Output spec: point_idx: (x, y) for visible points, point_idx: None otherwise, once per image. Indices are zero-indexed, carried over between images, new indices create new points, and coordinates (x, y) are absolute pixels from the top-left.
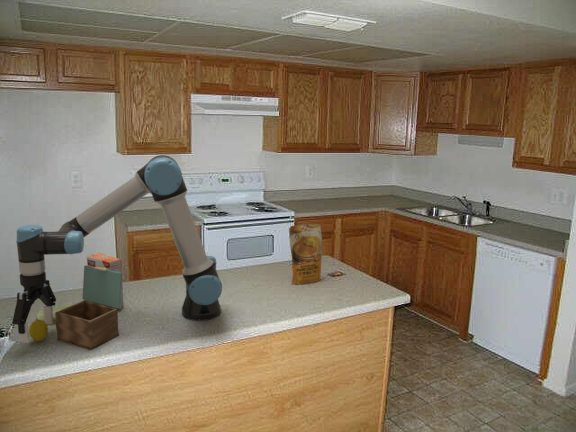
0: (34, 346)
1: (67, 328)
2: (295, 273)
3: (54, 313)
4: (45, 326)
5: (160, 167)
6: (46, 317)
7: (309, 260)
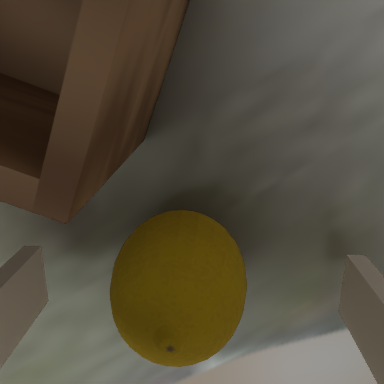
0: (252, 231)
1: (168, 4)
2: None
3: None
4: (172, 242)
5: None
6: (17, 321)
7: None
